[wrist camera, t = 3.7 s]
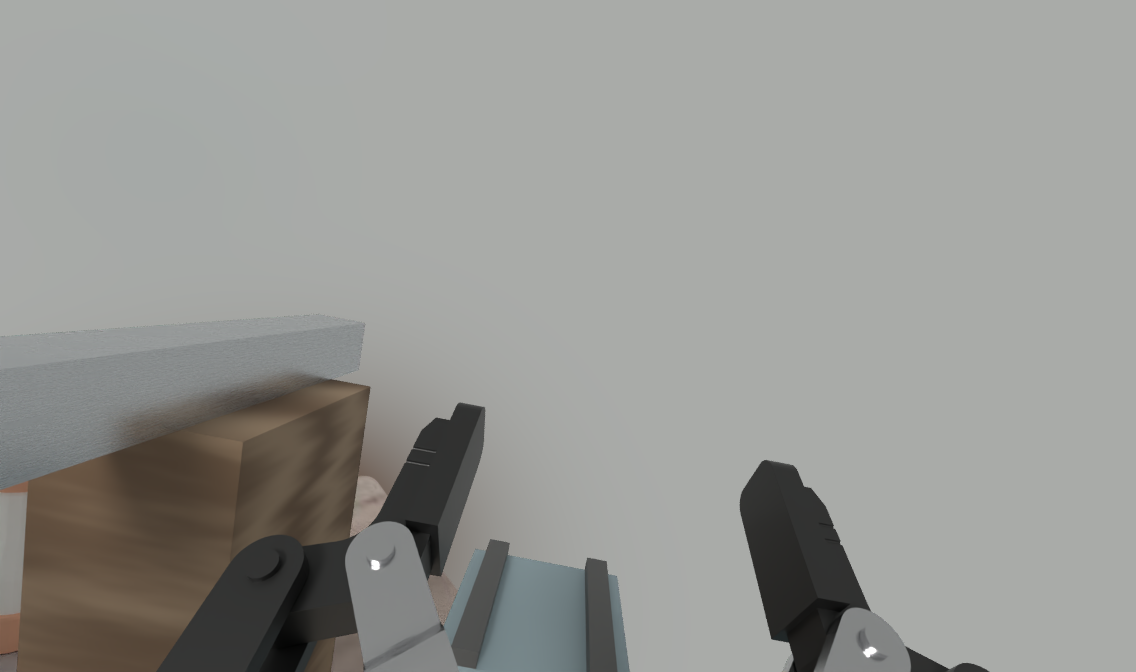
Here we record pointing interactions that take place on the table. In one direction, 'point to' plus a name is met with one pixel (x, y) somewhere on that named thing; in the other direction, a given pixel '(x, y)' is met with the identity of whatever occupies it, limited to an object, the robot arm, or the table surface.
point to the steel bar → (152, 382)
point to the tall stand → (180, 526)
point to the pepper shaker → (11, 562)
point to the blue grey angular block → (536, 616)
